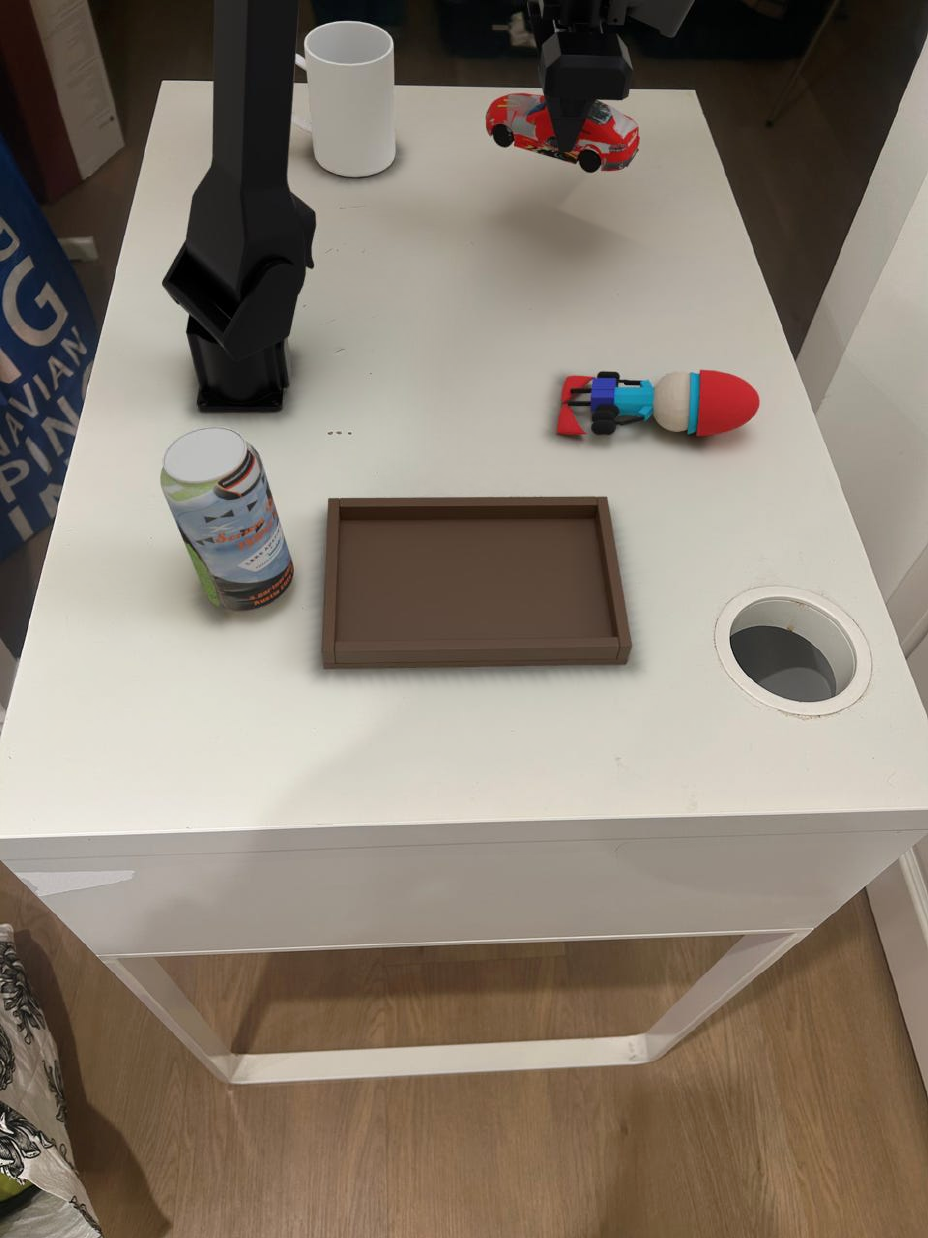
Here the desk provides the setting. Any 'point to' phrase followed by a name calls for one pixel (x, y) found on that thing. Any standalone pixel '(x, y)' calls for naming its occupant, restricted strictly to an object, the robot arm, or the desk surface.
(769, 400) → the desk surface
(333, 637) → the tray
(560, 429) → the toy figure
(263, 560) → the beverage can
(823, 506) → the desk surface
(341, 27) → the mug
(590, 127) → the race car
